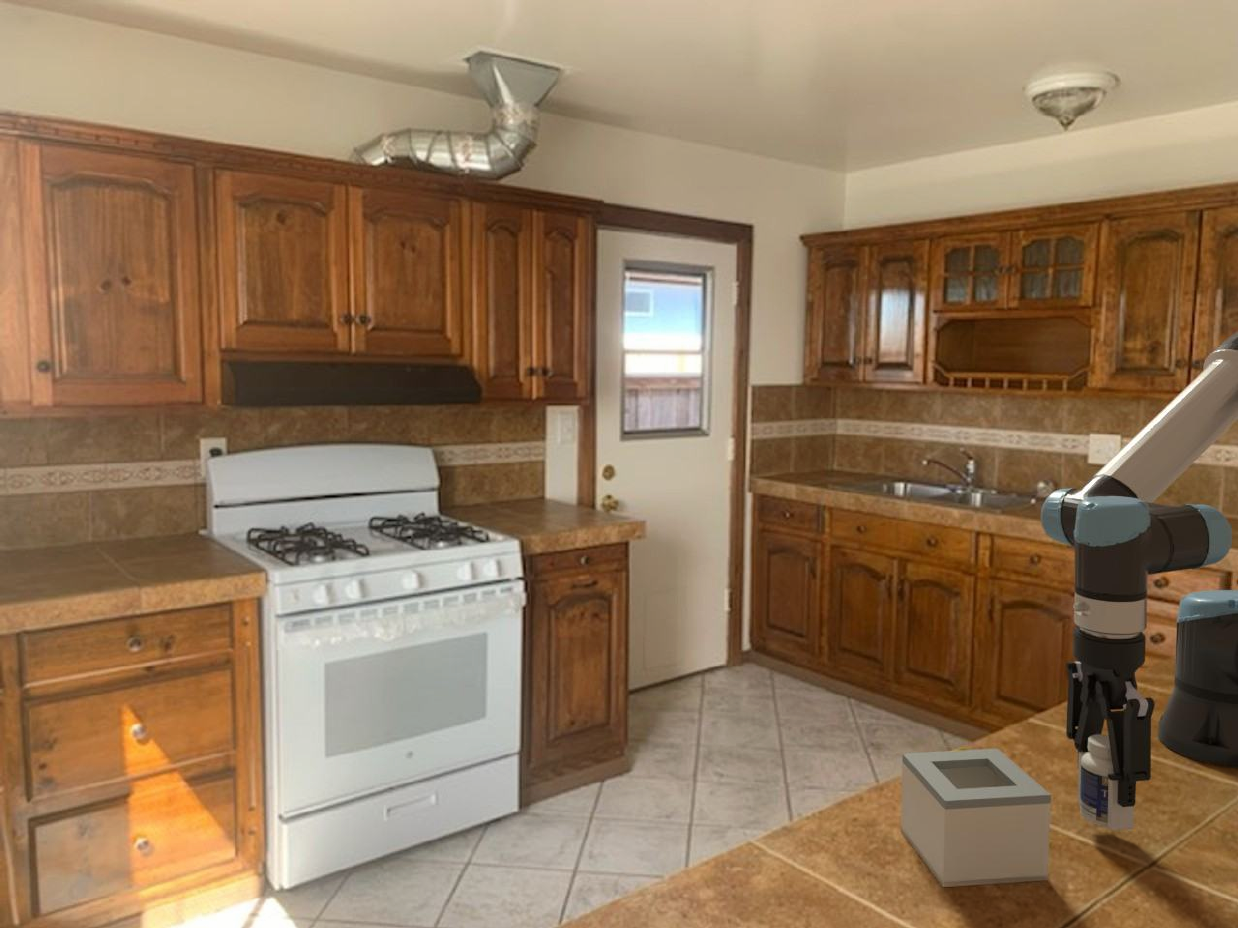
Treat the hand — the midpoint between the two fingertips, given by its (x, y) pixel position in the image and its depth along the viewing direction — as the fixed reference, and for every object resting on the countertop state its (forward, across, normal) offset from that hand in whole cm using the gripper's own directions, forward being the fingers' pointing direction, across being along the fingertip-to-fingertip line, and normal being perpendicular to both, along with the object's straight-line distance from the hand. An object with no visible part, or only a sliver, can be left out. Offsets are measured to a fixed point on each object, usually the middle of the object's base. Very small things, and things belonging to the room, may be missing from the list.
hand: (1104, 814), depth 111 cm
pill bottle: (+1, 0, 0) cm, 1 cm away
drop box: (+2, +2, -18) cm, 18 cm away
